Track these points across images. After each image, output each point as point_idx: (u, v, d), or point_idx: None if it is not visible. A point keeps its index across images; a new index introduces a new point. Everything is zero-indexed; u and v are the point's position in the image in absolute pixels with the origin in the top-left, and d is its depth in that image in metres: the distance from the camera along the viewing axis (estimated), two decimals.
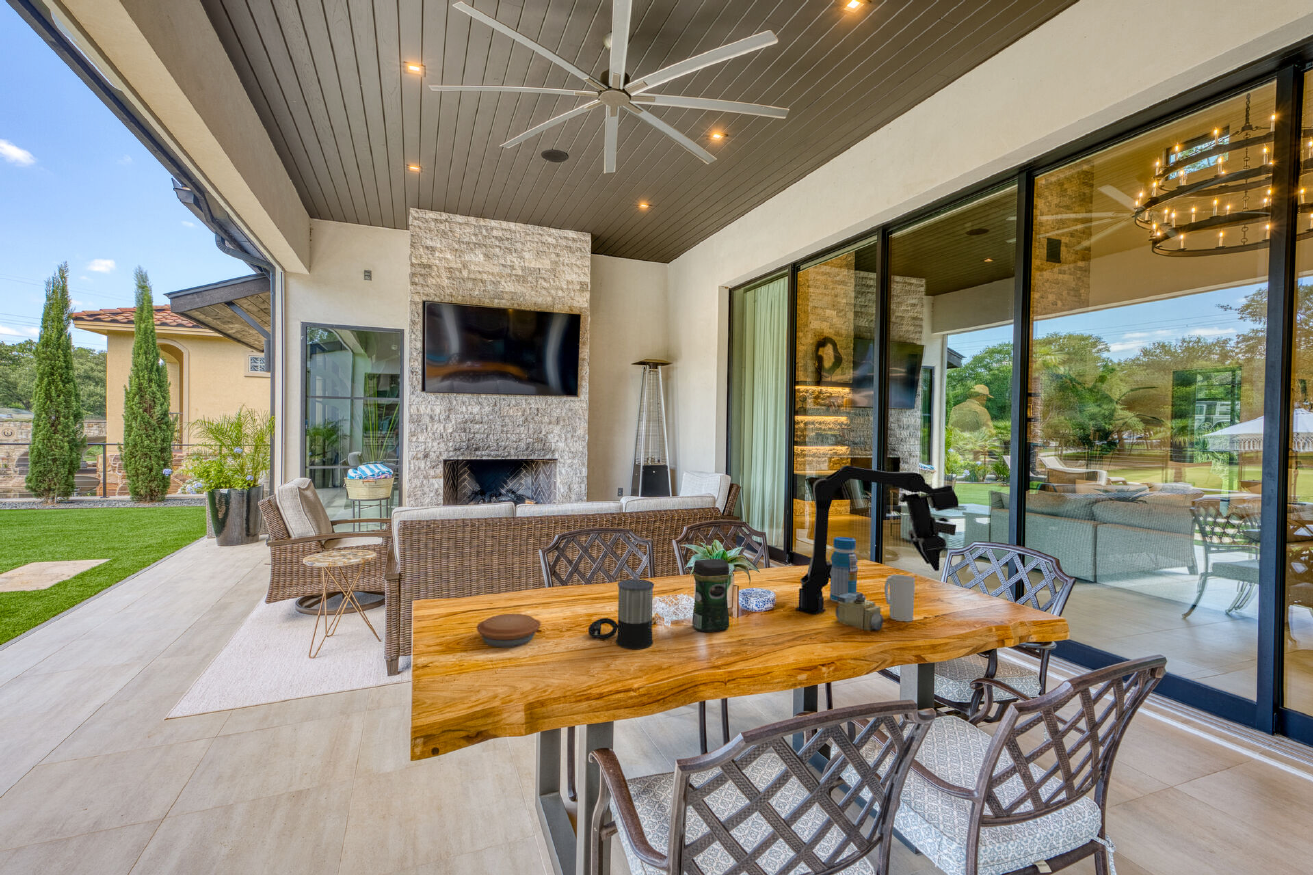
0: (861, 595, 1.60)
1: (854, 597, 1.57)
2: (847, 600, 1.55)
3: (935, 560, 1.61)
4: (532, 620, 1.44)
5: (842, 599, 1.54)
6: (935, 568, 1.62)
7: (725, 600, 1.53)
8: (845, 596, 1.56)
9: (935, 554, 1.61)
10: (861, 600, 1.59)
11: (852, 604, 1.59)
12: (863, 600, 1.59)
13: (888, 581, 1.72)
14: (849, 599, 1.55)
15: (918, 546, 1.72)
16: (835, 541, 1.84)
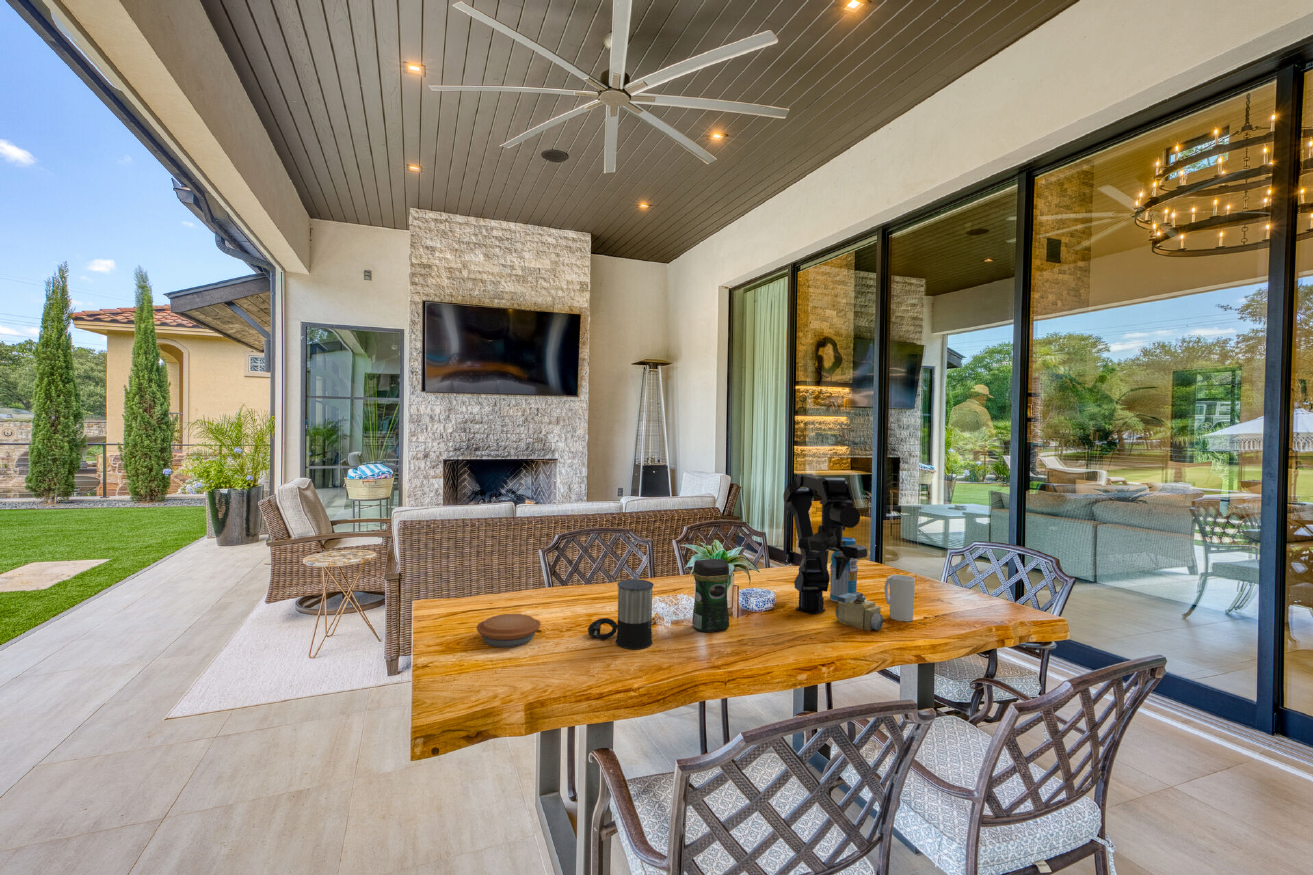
0: (861, 595, 1.60)
1: (854, 597, 1.57)
2: (847, 600, 1.55)
3: None
4: (532, 620, 1.44)
5: (842, 599, 1.54)
6: None
7: (725, 600, 1.53)
8: (845, 596, 1.56)
9: None
10: (861, 600, 1.59)
11: (852, 604, 1.59)
12: (863, 600, 1.59)
13: (888, 581, 1.72)
14: (849, 599, 1.55)
15: None
16: None
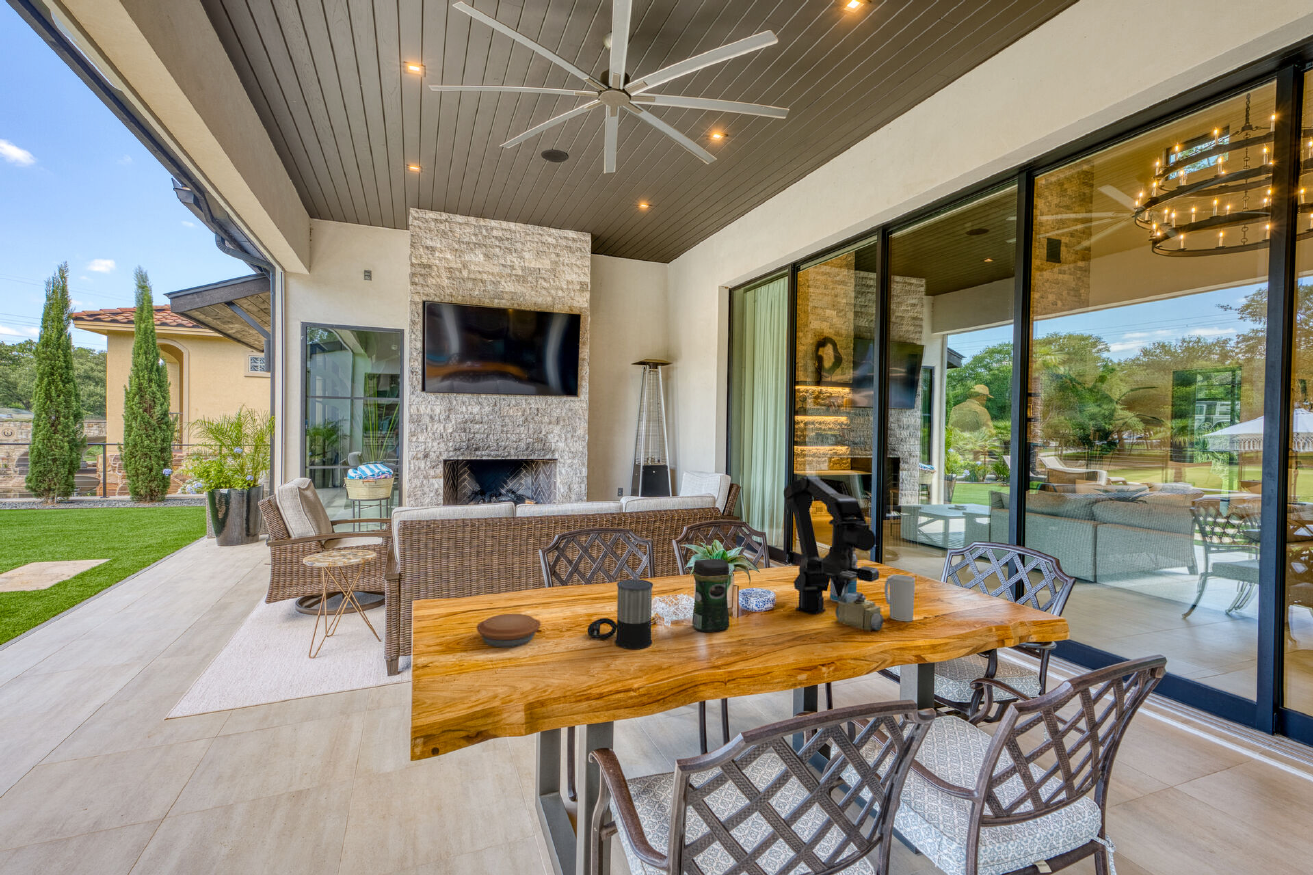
0: (861, 595, 1.60)
1: (855, 597, 1.57)
2: (848, 600, 1.54)
3: None
4: (532, 620, 1.44)
5: (843, 599, 1.54)
6: None
7: (725, 600, 1.53)
8: (846, 596, 1.55)
9: None
10: (861, 600, 1.59)
11: (852, 604, 1.59)
12: (863, 600, 1.59)
13: (888, 581, 1.72)
14: (850, 599, 1.55)
15: None
16: None
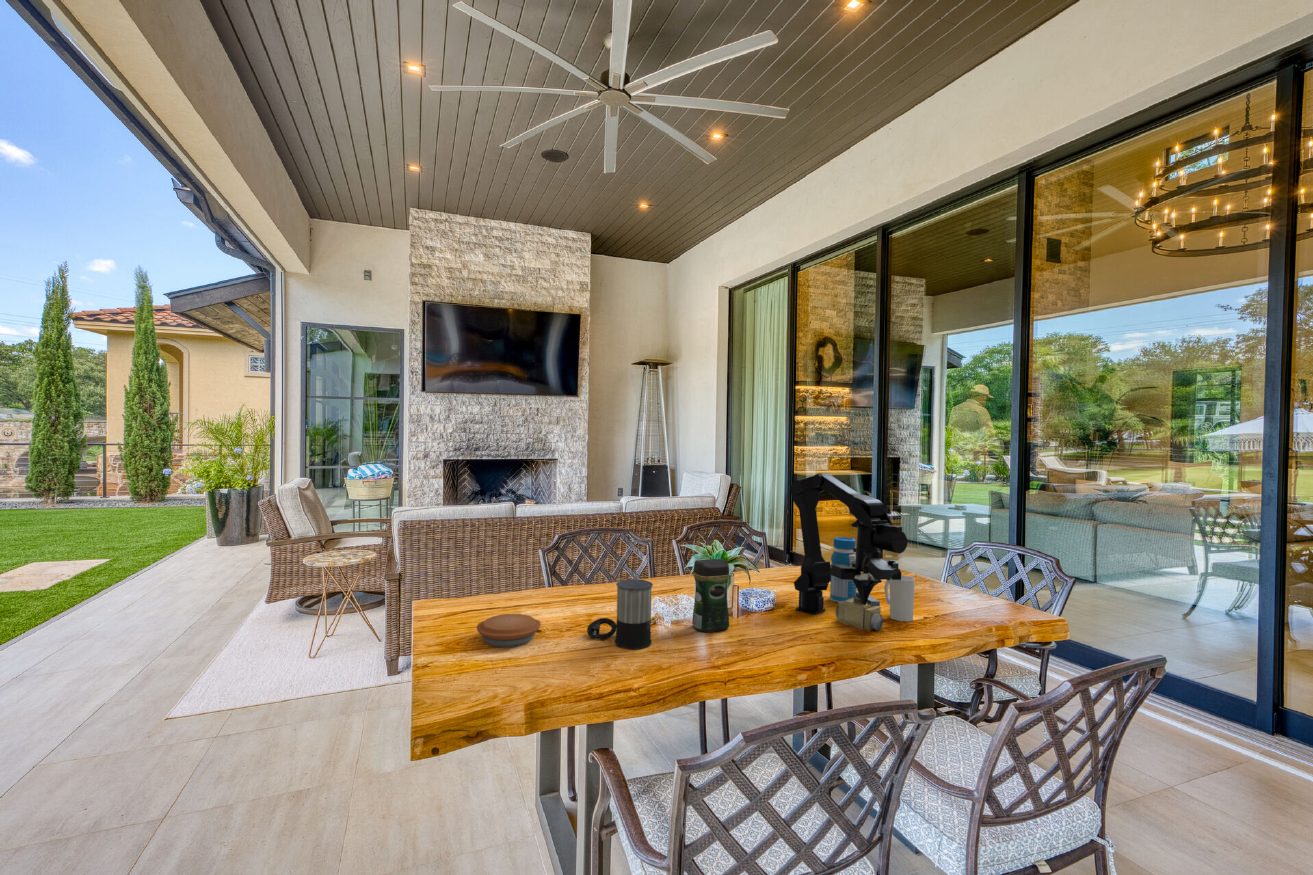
0: None
1: None
2: None
3: (861, 592, 1.54)
4: (532, 620, 1.44)
5: (877, 603, 1.51)
6: (862, 601, 1.54)
7: (725, 600, 1.53)
8: (873, 599, 1.53)
9: None
10: None
11: (852, 604, 1.59)
12: None
13: (888, 581, 1.72)
14: None
15: None
16: (835, 541, 1.84)
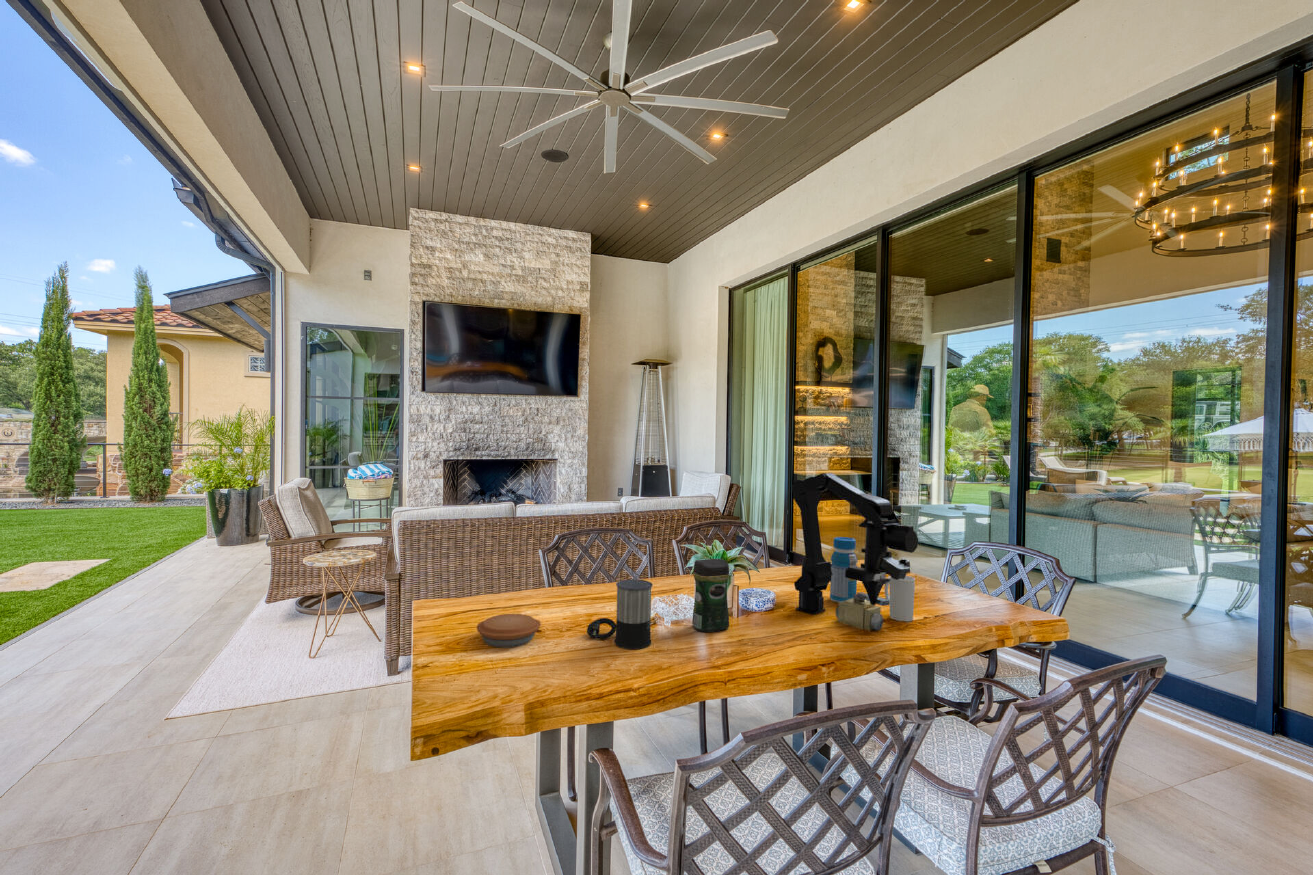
0: None
1: None
2: None
3: (872, 592, 1.53)
4: (532, 620, 1.44)
5: (887, 602, 1.52)
6: (871, 601, 1.54)
7: (725, 600, 1.53)
8: (882, 599, 1.54)
9: (873, 586, 1.53)
10: (865, 599, 1.60)
11: (852, 604, 1.59)
12: None
13: None
14: None
15: None
16: (835, 541, 1.84)
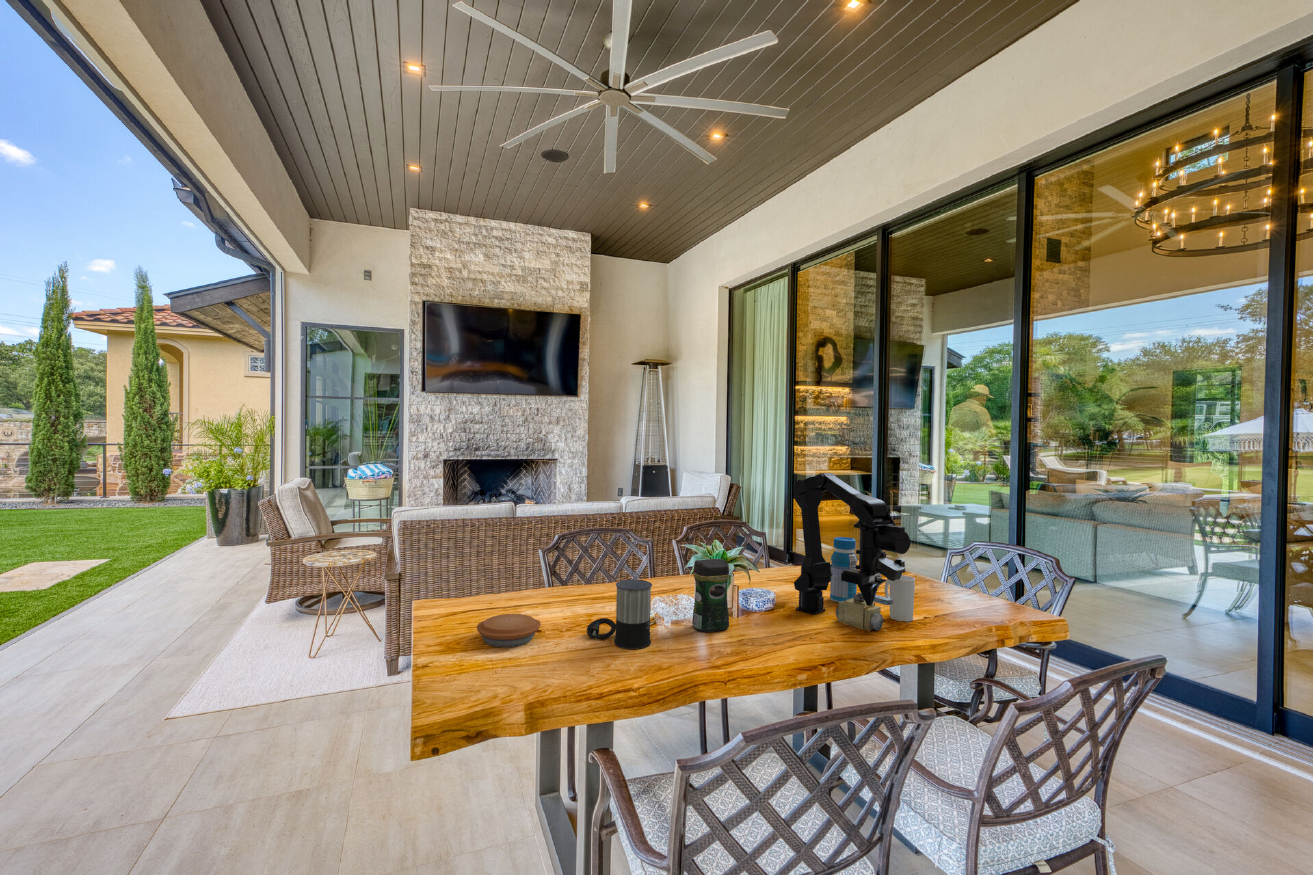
0: None
1: None
2: None
3: (867, 594, 1.52)
4: (532, 620, 1.44)
5: (891, 601, 1.53)
6: (866, 602, 1.53)
7: (725, 600, 1.53)
8: (885, 598, 1.55)
9: (868, 588, 1.52)
10: None
11: (852, 604, 1.59)
12: None
13: (888, 581, 1.72)
14: None
15: None
16: (835, 541, 1.84)
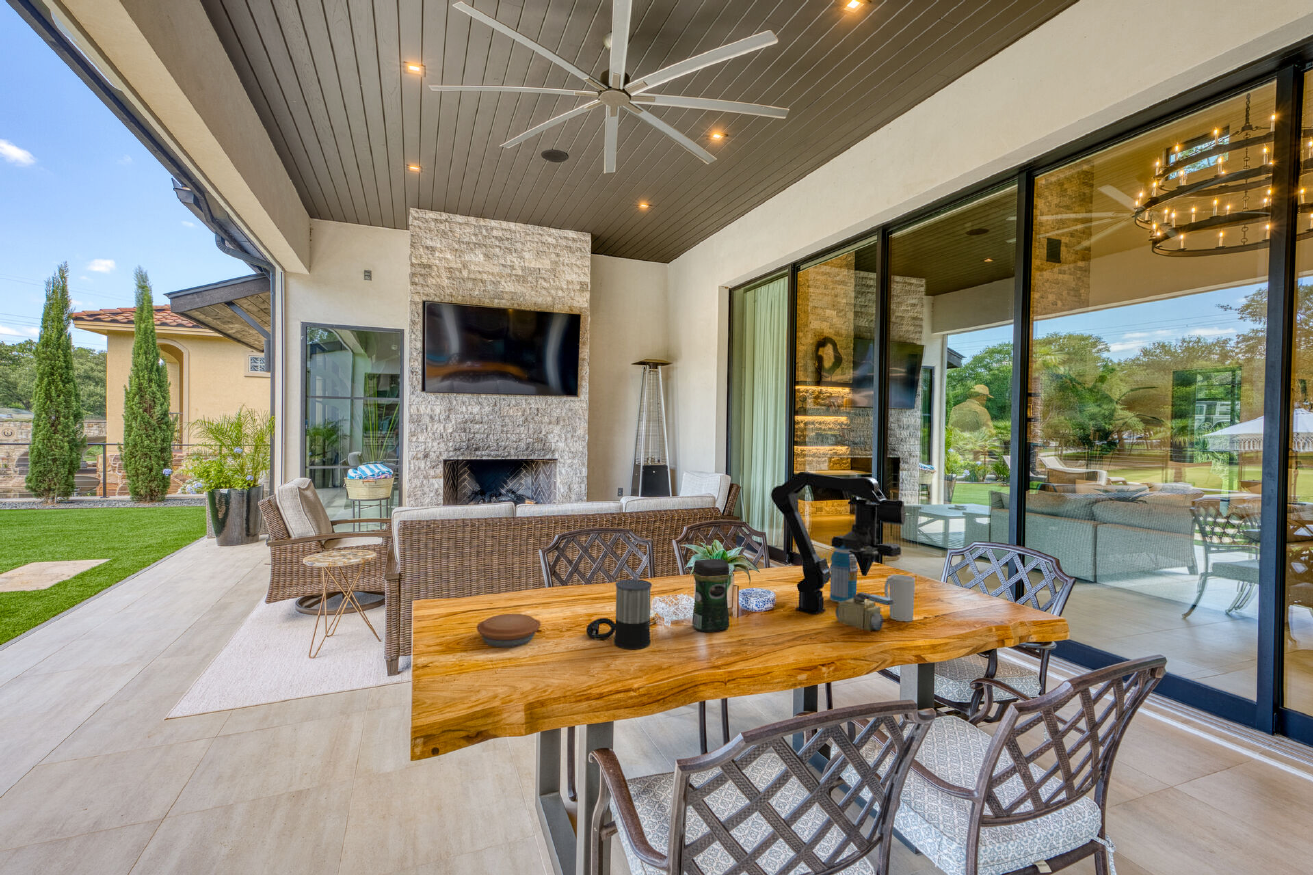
0: None
1: None
2: None
3: None
4: (532, 620, 1.44)
5: (891, 601, 1.53)
6: None
7: (725, 600, 1.53)
8: (885, 598, 1.55)
9: None
10: (865, 599, 1.61)
11: (852, 604, 1.59)
12: None
13: (888, 581, 1.72)
14: None
15: None
16: None
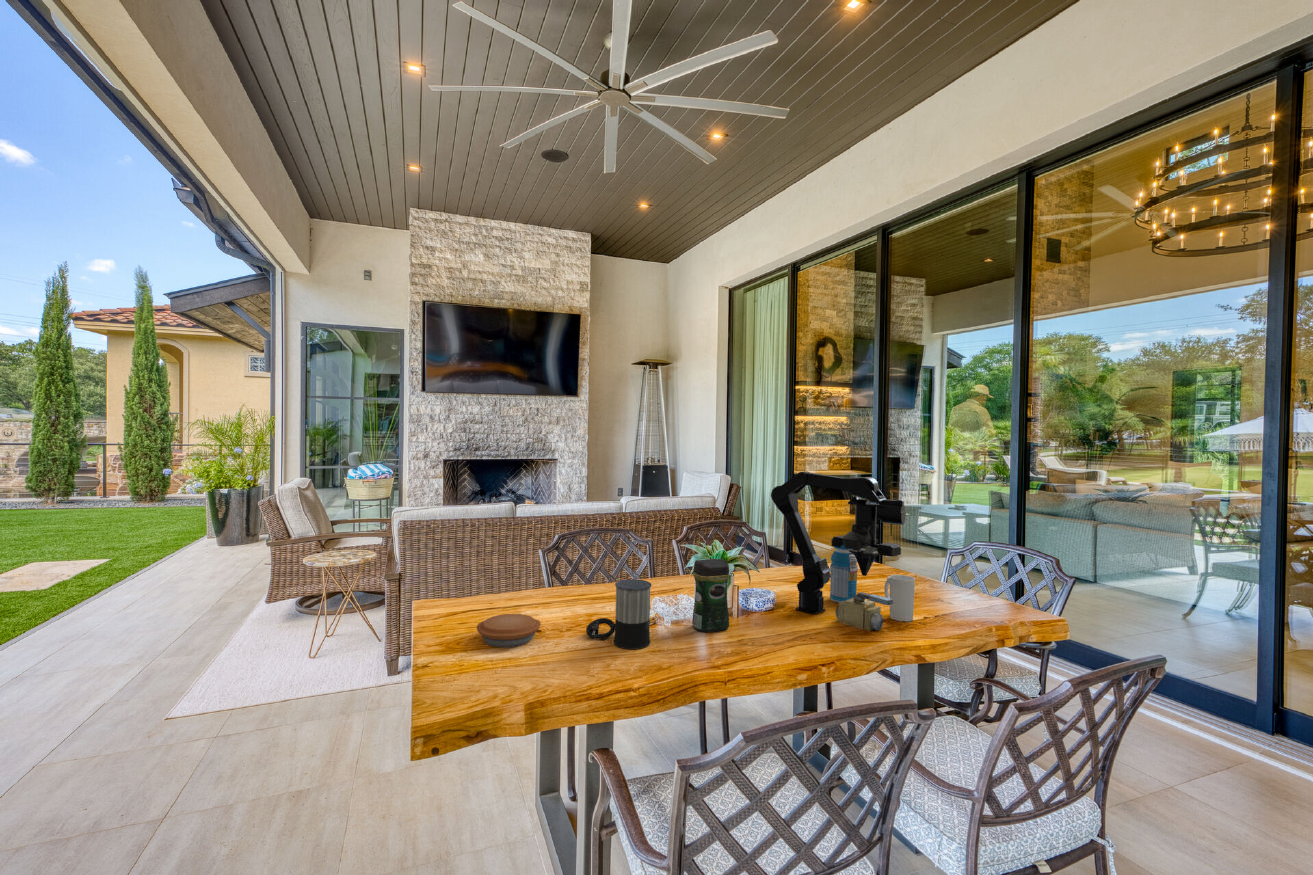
0: None
1: None
2: None
3: None
4: (532, 620, 1.44)
5: (891, 601, 1.53)
6: None
7: (725, 600, 1.53)
8: (885, 598, 1.55)
9: None
10: (865, 599, 1.61)
11: (852, 604, 1.59)
12: None
13: (888, 581, 1.72)
14: None
15: None
16: None
